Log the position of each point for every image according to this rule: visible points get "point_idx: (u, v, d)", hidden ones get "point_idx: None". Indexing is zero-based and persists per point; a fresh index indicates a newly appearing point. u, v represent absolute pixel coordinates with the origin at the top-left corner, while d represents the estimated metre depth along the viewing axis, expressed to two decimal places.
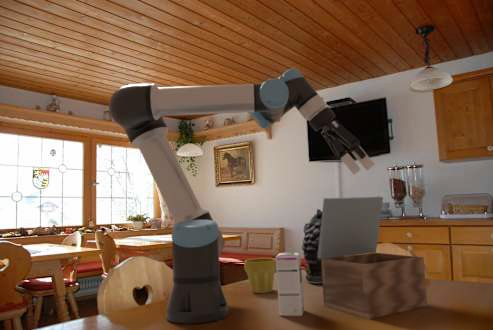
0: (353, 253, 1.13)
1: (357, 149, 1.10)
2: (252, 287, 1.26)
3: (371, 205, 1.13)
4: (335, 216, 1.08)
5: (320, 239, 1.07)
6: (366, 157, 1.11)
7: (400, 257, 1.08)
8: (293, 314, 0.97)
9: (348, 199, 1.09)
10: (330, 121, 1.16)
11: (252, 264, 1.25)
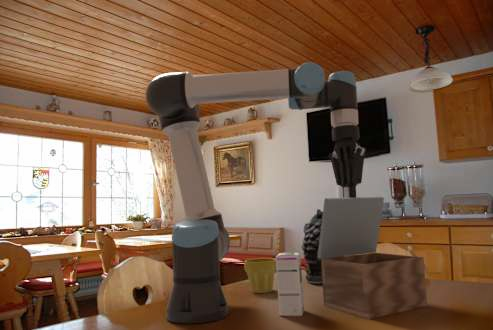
0: (354, 253, 1.13)
1: (353, 187, 1.11)
2: (252, 287, 1.26)
3: (372, 205, 1.13)
4: (335, 217, 1.07)
5: (320, 239, 1.07)
6: None
7: (400, 257, 1.08)
8: (293, 314, 0.97)
9: (349, 199, 1.09)
10: None
11: (252, 264, 1.25)
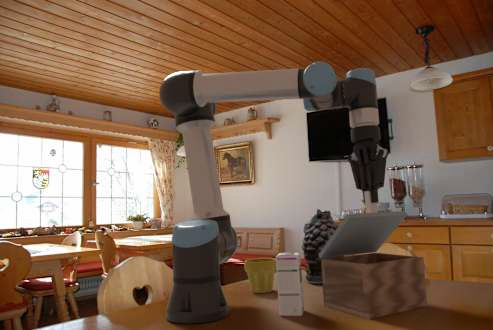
0: (354, 253, 1.13)
1: (375, 191, 1.04)
2: (252, 287, 1.26)
3: (392, 220, 1.07)
4: (350, 230, 1.02)
5: (327, 244, 1.05)
6: (375, 204, 1.05)
7: (400, 257, 1.08)
8: (293, 314, 0.97)
9: (371, 217, 1.02)
10: None
11: (252, 264, 1.25)
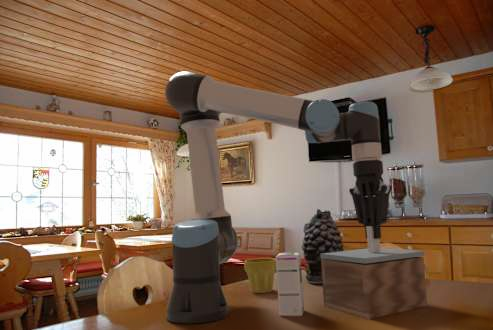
0: None
1: (377, 227, 1.03)
2: (252, 287, 1.26)
3: None
4: None
5: (333, 257, 1.03)
6: (378, 240, 1.04)
7: None
8: (293, 314, 0.97)
9: None
10: None
11: (252, 264, 1.25)
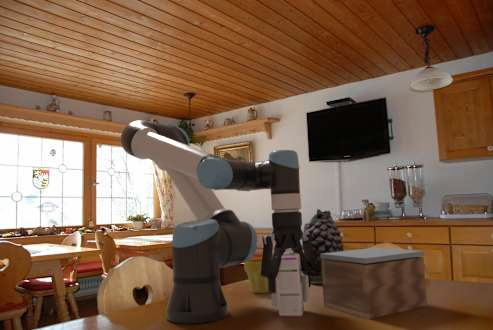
0: None
1: None
2: (252, 287, 1.26)
3: None
4: None
5: (333, 257, 1.03)
6: None
7: None
8: (293, 314, 0.97)
9: (387, 260, 0.97)
10: None
11: (252, 264, 1.25)
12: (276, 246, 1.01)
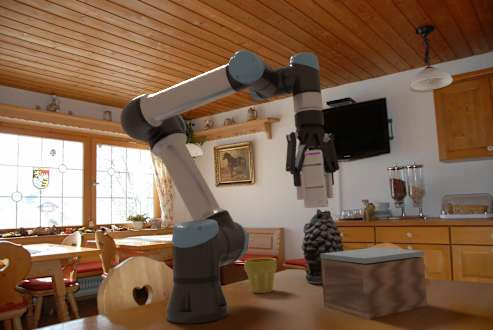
0: None
1: None
2: (252, 287, 1.26)
3: None
4: None
5: (333, 257, 1.03)
6: None
7: None
8: (318, 205, 1.01)
9: (387, 260, 0.97)
10: None
11: (252, 264, 1.25)
12: (299, 145, 1.05)
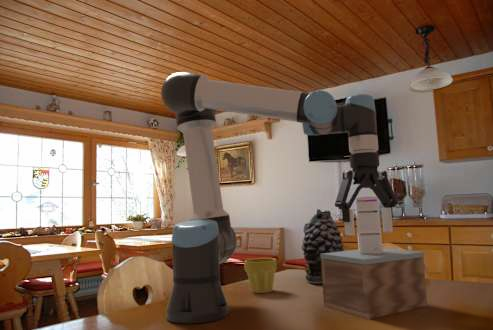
0: None
1: None
2: (252, 287, 1.26)
3: None
4: None
5: (333, 257, 1.03)
6: None
7: None
8: (374, 252, 1.02)
9: (387, 261, 0.97)
10: None
11: (252, 264, 1.25)
12: (353, 184, 1.07)
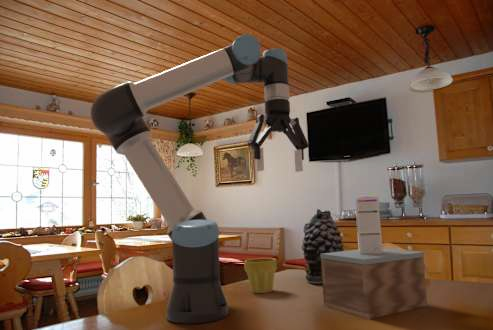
0: None
1: None
2: (252, 287, 1.26)
3: None
4: None
5: (333, 257, 1.03)
6: None
7: None
8: (374, 252, 1.02)
9: (387, 261, 0.97)
10: None
11: (252, 264, 1.25)
12: (266, 127, 1.21)
